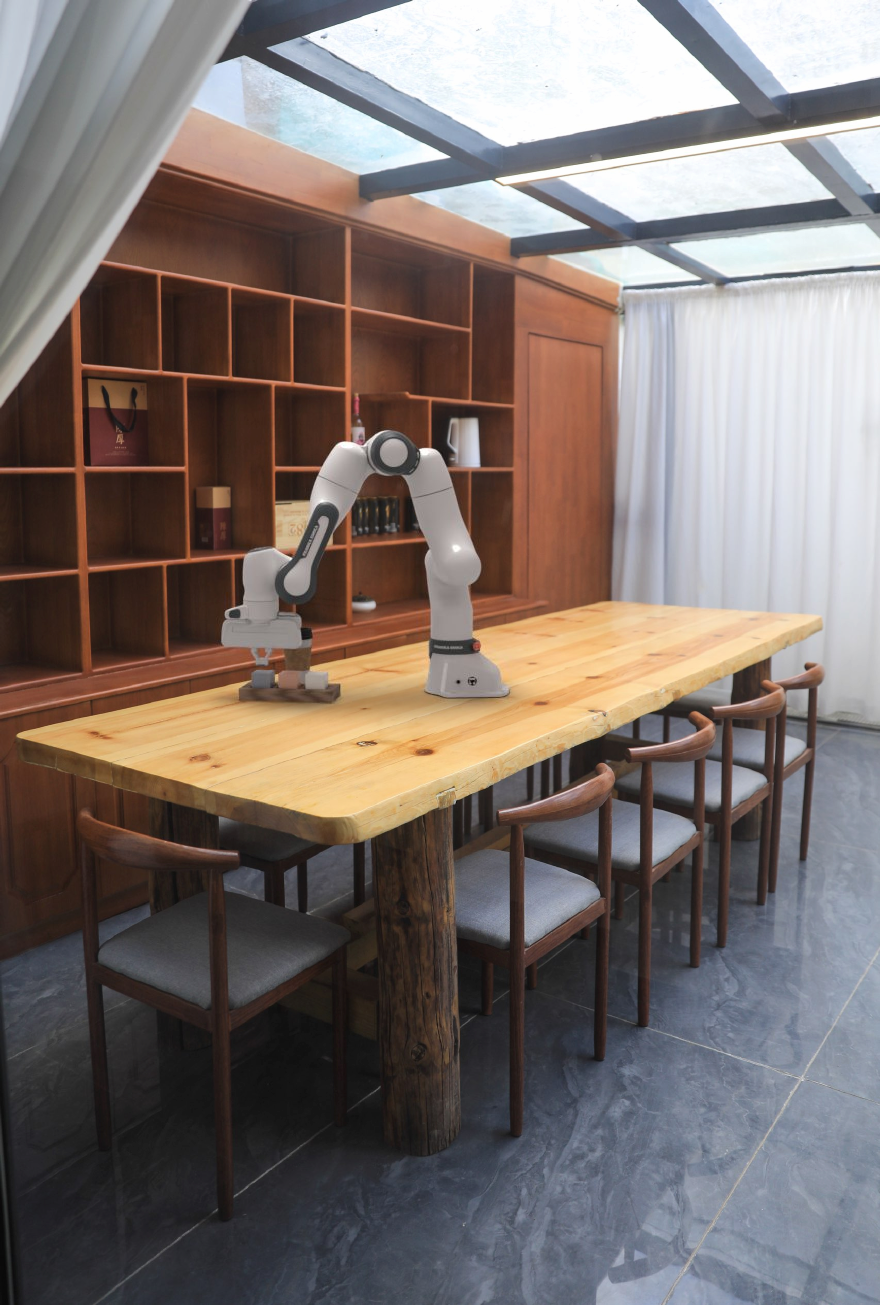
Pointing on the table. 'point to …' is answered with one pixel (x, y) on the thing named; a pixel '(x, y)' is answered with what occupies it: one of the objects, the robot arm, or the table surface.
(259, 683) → the slate key
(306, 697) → the tray
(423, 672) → the table surface
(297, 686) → the terracotta key
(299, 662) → the coffee cup
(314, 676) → the ivory key
